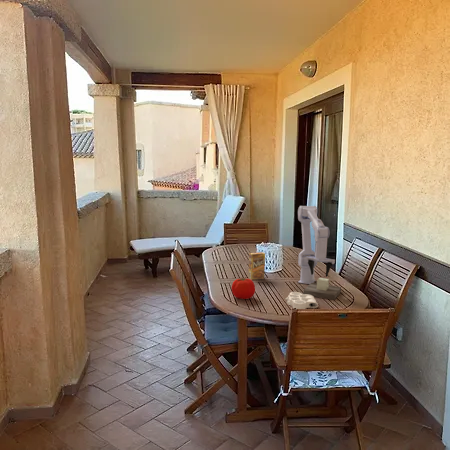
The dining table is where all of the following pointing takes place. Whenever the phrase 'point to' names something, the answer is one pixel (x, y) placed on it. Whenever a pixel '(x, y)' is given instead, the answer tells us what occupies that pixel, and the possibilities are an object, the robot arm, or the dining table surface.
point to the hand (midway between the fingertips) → (319, 275)
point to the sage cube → (322, 284)
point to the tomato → (243, 288)
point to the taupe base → (322, 291)
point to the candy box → (256, 265)
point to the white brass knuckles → (301, 300)
